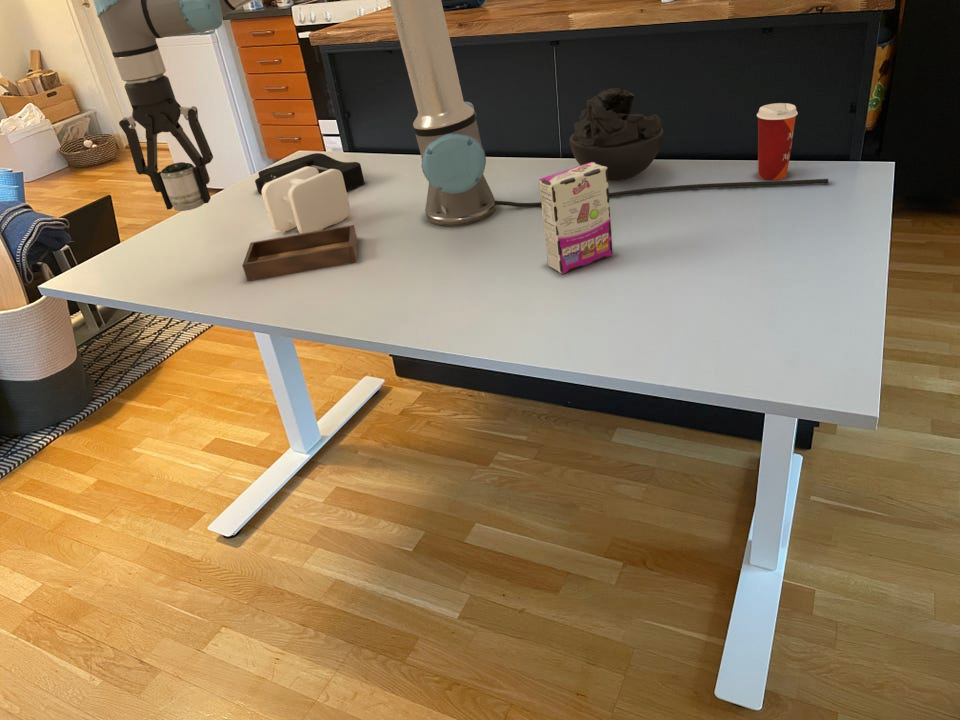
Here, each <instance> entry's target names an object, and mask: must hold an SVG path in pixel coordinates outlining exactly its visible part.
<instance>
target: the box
mask: <svg viewBox="0 0 960 720" xmlns="http://www.w3.org/2000/svg"><path fill="white" fill-rule="evenodd" d="M357 259H358V236H357V232H356V228H355V224H351V225H344V226H338V227H332V228H327V229H323V230H320V231H315V232H309V233H303V234H301V233H298V234H292V235H286V236H281V237H274V238H268V239H264V240H257V241H252V242H250V243H249V246H248V249H247V251H246V254H245V256H244V259H243V262H242V269H243V272H244V274H245V277H246V280H247V282H251V281H257V280H262V279H263V280H264V279H268V278H274V277H281V276H285V275H290V274H291V275H292V274H296V273H303V272H308V271H314V270H320V269H326V268H332V267H336V266H343V265H348V264H354V263H357Z"/></svg>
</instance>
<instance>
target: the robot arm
mask: <svg viewBox="0 0 960 720" xmlns="http://www.w3.org/2000/svg"><path fill="white" fill-rule="evenodd" d="M92 1H93V4H94V7H95V10H96V15H97V18H98V20H99V23H100V25H101V27H102V30H103V33H104V35H105V37H106V40H107V43H108V45H109V48H110V51H111V54H112V56H113V59H114V62H115V65H116V69H117V71H118V73H119V76H120V79H121V81H123V82H125V84H124V90H125V93H126V96H127V97H128V101H129V104H130V105H131V106H130V107H131V108H132V114H131V115H129V116H128V117H127V116H125V117H123V118H122V119H121V120H120V121H118V124H119V126H120V128H121V130H122V131H123V132H124V134H125V136H126V140H127V143H128V147H129V150H130V154H131V157H132V161H133V164H134V168H135V171H136V173H137V174H138V175H146V176H148V177H149V178H150V181H151V184H152V187H153V189H154V191H155V192H156V193H160V194H161V197H162V200H163V202H164V205H165V208H166V210H167V211H168V210H172V209H173V208H174V207H173V206H172V204H171V202H170V200H169V197H168V194H167V191H166V189H165V186H164V183H163V180H162V177H161V175H160V174H161V171H159V166H158V134H161V133H170V134H171V135H172V137H174V138H175V140H176V141H177V142H178V143H179V145H180V146H181V147H182V150H183V151H184V152H185V153H186V155H187V156H188V157H189V159H190V160H191V162H192V163H193V165H194V166H195V168H194V169H193V172H194V175H195V178H196V181H197V184H198V187H199V190H200V193H201V196H202V198H203V201H204V204H203V205H205V204H209V203H210V201H211V194H210V192H209V188H208V186H207V185H208V184H209V183H210V181H211V178H210V176H209V175H210V174H209V172H208V169H207V165H208V164H210V163H211V162H212V161H213V159H214V155H213V152H212V150H211V147H210V145H209V142H208V140H207V138H206V136H205V133H204V131H203V127H202V125H201V123H200V120H199V111H198V108H197V106H195V105H193V106H191V107H187V106H181V104H180V103H179V102H178V101H177V99H176V96H175V93H174V90H173V87H172V84H171V81H170V79H169V77H168V76H167V75H165V74H166V72H167V70H166V66H165V63H164V60H163V58H162V55H161V51H160V49H159V45H158V43H157V39H164V38H168V37H169V38H170V37H176V36H183V35H190V34H205V33H206V32H209V31H214V30H218V29H219V28H221V26H222V25H223V17H225V16H227V15H230V14H231V13H233V12H235V11H236V10H238V9H240V8H242V7H244V6H245V5H248V4H249V3H252V2H253V1H254V0H92ZM389 3H390V7H391V13H392V16H393V20H394V23H395V27H396V31H397V35H398V39H399V43H400V47H401V51H402V54H403V58H404V63H405V67H406V70H407V74H408V78H409V81H410V86H411V90H412V94H413V98H414V101H415V106H416V109H417V116H416V117H415V119H414V121H413V123H412V126H413V131H414V134H415V138H416V141H417V145H418V150H419V153H420V157H421V170H422V171H421V172H422V173H423V176H424V177H425V179H426V180H427V182H428V186H427V187H428V188H427V194H426V200H425V201H426V202H425V208H424V212H425V217H426V220H427V222H429V223H430V224H433V225H435V226H440V227H441V226H442V227H459V226H460V227H461V226H466V225H472V224H474V223H478V222H481V221H483V220H485V219H487V218H489V217H491V216H492V215H493V214H494V213H495V212H496V209H497V206H509V207H516V208H536V207H537V208H538V207H542V206H541V201H539V202H515V201H505V200H496V197H495V195H494V194H493V192H492V190H491V187H490V186H489V183H488V181H487V180H486V177H485V175H484V173H485V169H486V164H487V157H486V152H485V150H484V148H483V145H482V140H481V136H480V131H479V126H478V122H477V113H476V111H475V106H474V104H473V103H472V102H470V101H464V97H463V92H462V87H461V84H460V83H461V82H460V79H459V74H458V70H457V64H456V61H455V57H454V52H453V47H452V43H451V37H450V33H449V29H448V24H447V21H446V20H447V19H446V15H445V10H444V7H443V3H442V0H389ZM181 115H182V116H183V117H184V119H185V120H186V121H187V122H188V125H189V128H190V131H191V133H192V135H193V137H194V139H195V142H196V145H197V147H198V149H199V151H198V149H197V148H196V146H195V145H194V144H193V142H192V141H191V139H190V137H189V136H188V135H187V134H186V132H185V131H184V128H183V126H182V125H181V123H180V122H179V121H180V117H181ZM137 123H138V124H139V125H140V126H141V127H143V128H144V129H145V139H146V161H145V156H144V153H143V149H142V145H141V143H140V142H141V141H140V138H139V136H138V132H137V129H136V127H137ZM815 184H816V185H817V184H829V178H815V179H813V178H812V179H795V180H793V179H792V180H764V181H741V182H739V181H738V182H716V183H715V182H713V183H697V184H682V185H681V184H680V185H669V186H657V187H646V188H638V189H637V188H636V189H629V190H628V189H627V190H621V191H614V192H609V198H612V197H619V196H620V197H621V196H628V195H629V196H630V195H636V194H637V195H638V194H645V193H655V192H657V193H658V192H667V191H679V190H680V191H681V190H693V189H695V190H697V189H713V188H738V187H740V188H741V187H763V186H764V187H767V186H768V187H769V186H772V187H773V186H795V185H796V186H797V185H815Z"/></svg>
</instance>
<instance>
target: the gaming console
mask: <svg viewBox="0 0 960 720" xmlns="http://www.w3.org/2000/svg"><path fill="white" fill-rule="evenodd" d="M303 167H314V168H316V169H317V170H318V172H319V174H320V173H322V172H324V171H327V170H329V169H336V170H339V171H341V173H342V175H343V179H344V183H345V188H346V192H348V191H350V190H352V189H355V188H357V187H359V186H362V185H364V184H365V178H364V173H363V169H362V165H361V163H360V162H357V161H349V162H347V161H341V160H338V159H335V158H332V157H331V156H328V155H327V154H324V153H320V152H315V153H310V154H307V155H304V156H301V157H297V158H295V159H291V160H289V161H286V162H283V163H280V164H277V165H274V166H270V167H268V168H264V169H262V170H260V171H258V177H257V178H256V179H255V180H254V183H255V186H256V190H257V193H258V194H259V195H260V194H261V195H262V188H263V186H264V185H265V184H266V183H268V182H270V181H272V180H275V179H277V178H280V177H282V176H284V175H287V174H289V173H291V172H294V171H296V170H299V169H301V168H303Z"/></svg>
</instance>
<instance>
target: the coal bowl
mask: <svg viewBox="0 0 960 720" xmlns="http://www.w3.org/2000/svg"><path fill="white" fill-rule="evenodd" d="M635 97H636V96H635V94H634V93H633V92H629V91H628V90H626V89H623V90H621V89H620V88H619V87H616V88H613V87H612V88H611V87H610V88H607V89H603V90H602V91H600V92H599V93H598V94H596V95H594V96H593V97H592V98H590V99H587V100H586V102H585V103H586V108H585V109H584V108H583V110H581V112H580V115H579V116H578V117H577V121H575V122H574V124H573V130H574V133H572V134H571V135H570V137H569V146H570V149H571V152H572V154H573V157H574V159H575V161H576V162H577V163H578V164H579V165H578V166H581V165H584V164H587V163H590V162H595V163H596V164H600V165H602V166H605V167H607V171H608V182H621V181H626V180H629V179H631V178H634V177H637V176H638V175H639V174H642V172H644V171H645V170H646V169H647V168H648V167H649V166H650V165H651V164H652V163H653V162H654V160H655V159H656V157H657V155H658V153H659V151H660V149H661V146H662V144H663V143H662V142H663V138H664V130H663V127H662V119H661V117H659V115H657V114H656V113H654V114H652V115H650V116H645V115H643V114H642V113H640V114H639V113H633V114H632V113H631V112H632V107H633V103H634V98H635Z"/></svg>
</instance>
